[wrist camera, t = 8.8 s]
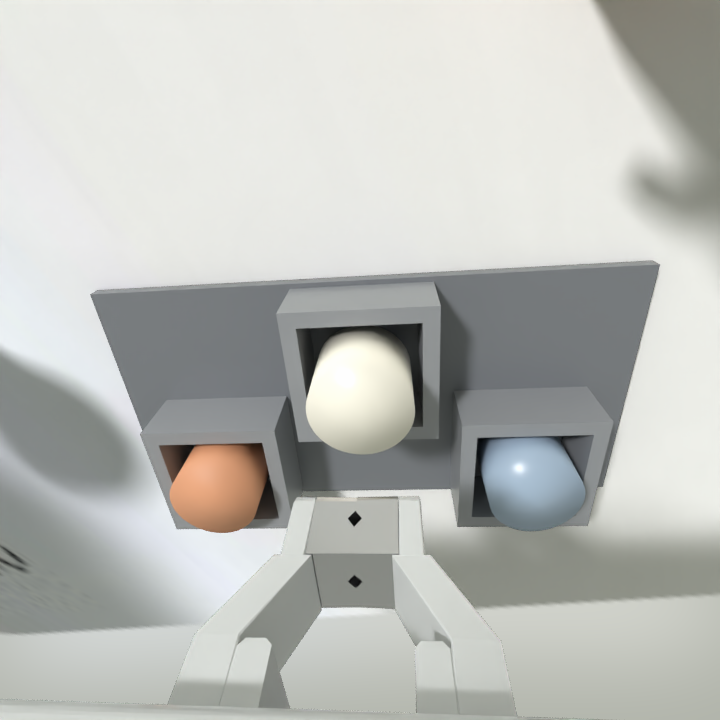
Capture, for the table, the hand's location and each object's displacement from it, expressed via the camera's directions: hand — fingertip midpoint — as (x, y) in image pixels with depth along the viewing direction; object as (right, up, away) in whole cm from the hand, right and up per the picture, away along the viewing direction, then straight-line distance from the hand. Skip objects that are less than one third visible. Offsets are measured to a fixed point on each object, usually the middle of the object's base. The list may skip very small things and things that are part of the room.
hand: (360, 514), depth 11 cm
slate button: (+7, 0, +9) cm, 11 cm away
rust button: (-6, -1, +10) cm, 12 cm away
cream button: (0, +3, +6) cm, 7 cm away
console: (0, +2, +9) cm, 10 cm away
